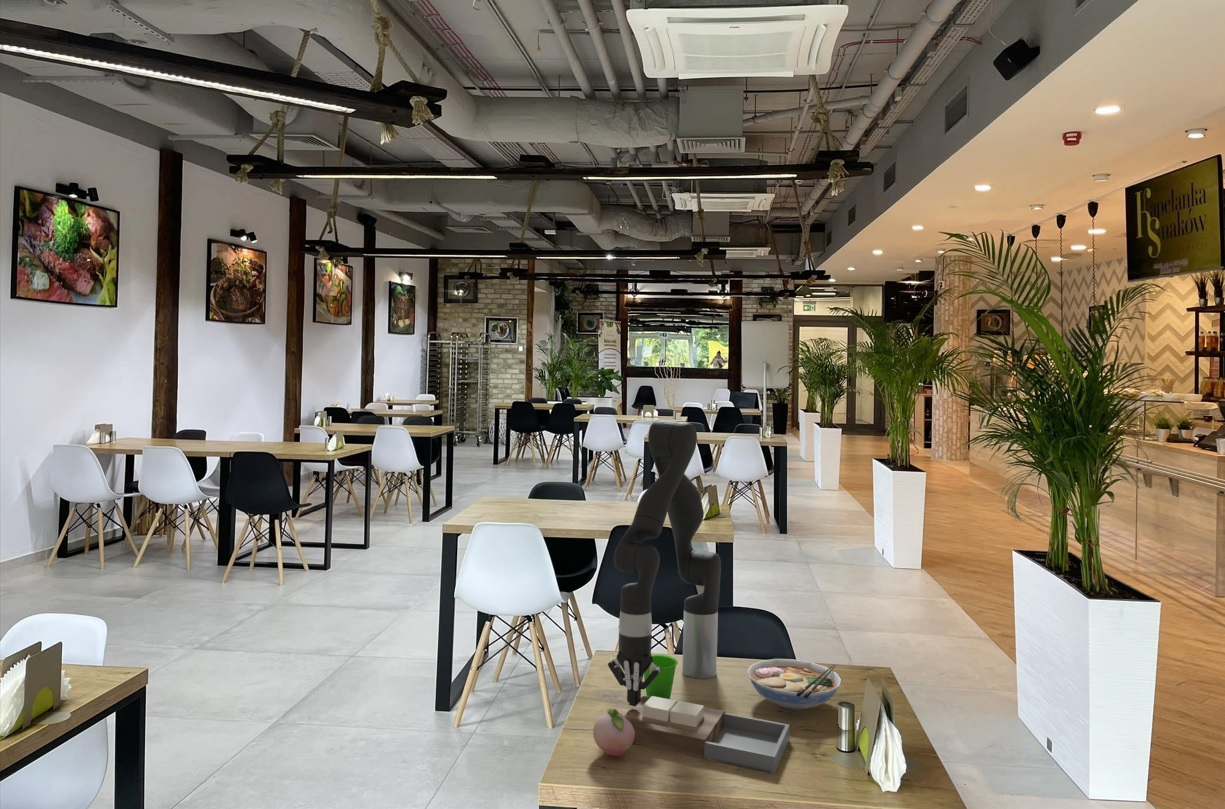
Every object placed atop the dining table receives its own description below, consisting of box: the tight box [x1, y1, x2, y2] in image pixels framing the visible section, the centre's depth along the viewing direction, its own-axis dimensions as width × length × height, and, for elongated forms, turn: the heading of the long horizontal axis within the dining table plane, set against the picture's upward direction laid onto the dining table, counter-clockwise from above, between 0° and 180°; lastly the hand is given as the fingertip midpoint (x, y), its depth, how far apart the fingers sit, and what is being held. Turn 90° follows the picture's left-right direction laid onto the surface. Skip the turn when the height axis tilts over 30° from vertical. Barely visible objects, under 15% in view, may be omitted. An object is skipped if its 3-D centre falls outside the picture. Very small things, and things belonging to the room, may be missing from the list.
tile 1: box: [643, 696, 678, 722], centre depth 181 cm, size 6×6×2 cm
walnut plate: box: [623, 695, 726, 759], centre depth 180 cm, size 16×20×4 cm
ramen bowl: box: [746, 658, 842, 711], centre depth 198 cm, size 25×23×8 cm
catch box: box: [703, 712, 791, 775], centre depth 173 cm, size 17×15×4 cm
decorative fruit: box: [592, 708, 635, 757], centre depth 169 cm, size 9×8×10 cm
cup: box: [643, 654, 678, 699], centre depth 195 cm, size 9×9×11 cm
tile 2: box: [670, 700, 705, 727], centre depth 178 cm, size 6×6×2 cm
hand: (633, 704), depth 183 cm, fingers closed
